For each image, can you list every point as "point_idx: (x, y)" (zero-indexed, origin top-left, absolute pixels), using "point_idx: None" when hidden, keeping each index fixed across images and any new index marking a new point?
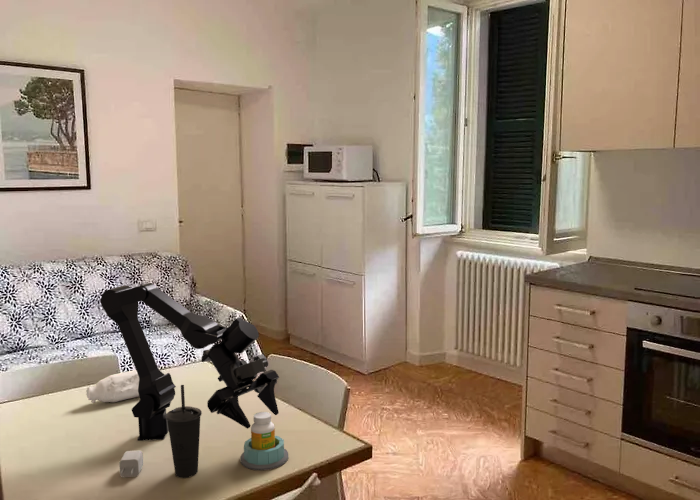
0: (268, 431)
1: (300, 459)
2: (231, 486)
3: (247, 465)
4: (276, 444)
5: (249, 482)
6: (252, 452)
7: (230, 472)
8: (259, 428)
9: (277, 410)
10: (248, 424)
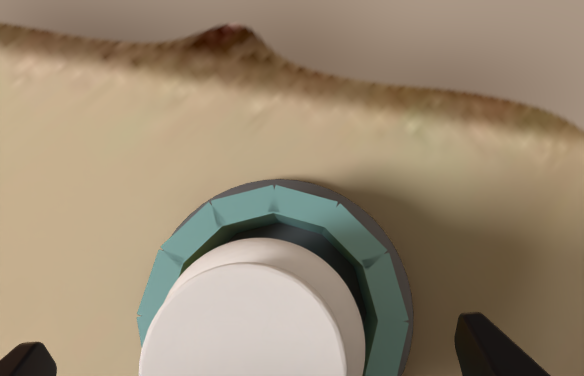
0: (284, 241)
1: (172, 157)
2: (575, 217)
3: (410, 300)
4: None
5: (490, 179)
6: (397, 288)
7: None
8: (338, 300)
9: (10, 359)
10: (492, 324)
